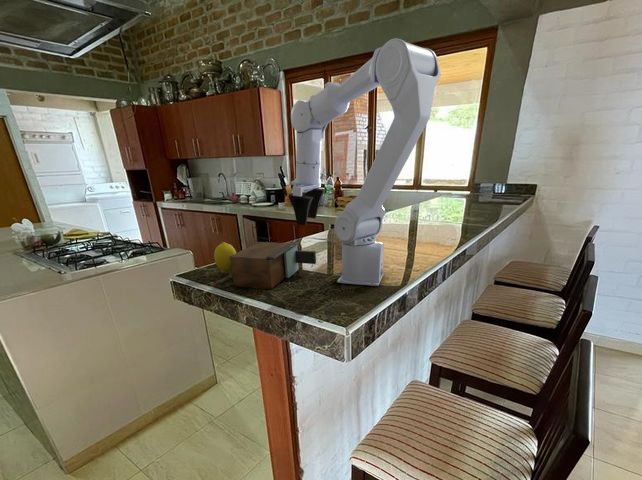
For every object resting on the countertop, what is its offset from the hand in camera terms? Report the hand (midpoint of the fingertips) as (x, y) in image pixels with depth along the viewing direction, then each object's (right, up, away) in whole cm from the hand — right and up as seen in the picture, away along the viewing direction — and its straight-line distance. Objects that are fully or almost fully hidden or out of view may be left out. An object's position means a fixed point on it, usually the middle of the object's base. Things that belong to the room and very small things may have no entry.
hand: (306, 221), depth 85 cm
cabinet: (-10, -15, -4) cm, 18 cm away
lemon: (-20, -13, 0) cm, 24 cm away
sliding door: (-1, -14, -3) cm, 14 cm away
